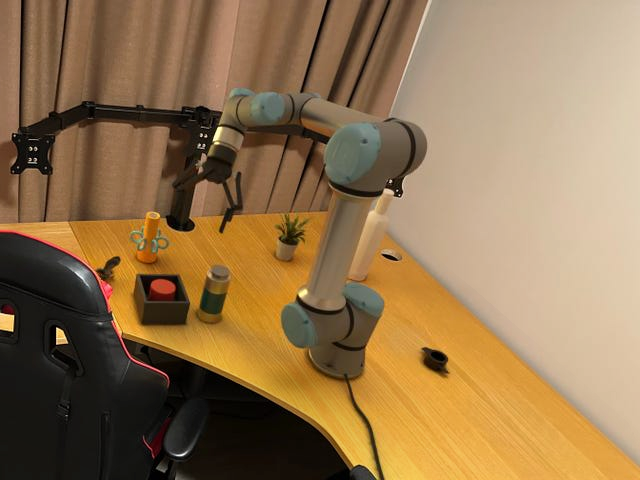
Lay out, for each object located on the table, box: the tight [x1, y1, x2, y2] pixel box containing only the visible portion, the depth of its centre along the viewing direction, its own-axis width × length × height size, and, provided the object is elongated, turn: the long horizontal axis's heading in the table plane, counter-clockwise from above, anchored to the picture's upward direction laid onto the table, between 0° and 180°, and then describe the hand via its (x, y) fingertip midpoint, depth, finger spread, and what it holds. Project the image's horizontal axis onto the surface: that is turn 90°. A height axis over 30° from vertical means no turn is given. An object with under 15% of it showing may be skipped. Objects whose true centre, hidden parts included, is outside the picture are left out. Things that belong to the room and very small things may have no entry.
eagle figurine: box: [94, 255, 122, 282], centre depth 184 cm, size 8×7×9 cm
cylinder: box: [129, 211, 170, 264], centre depth 193 cm, size 12×10×15 cm
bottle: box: [347, 188, 395, 282], centre depth 199 cm, size 8×8×30 cm
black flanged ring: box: [420, 346, 451, 375], centre depth 178 cm, size 8×10×3 cm
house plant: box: [272, 208, 315, 262], centre depth 205 cm, size 14×14×16 cm
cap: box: [148, 279, 175, 301], centre depth 176 cm, size 7×7×7 cm
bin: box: [133, 273, 191, 325], centre depth 176 cm, size 14×13×7 cm
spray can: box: [197, 264, 232, 324], centre depth 175 cm, size 7×7×16 cm
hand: (196, 224), depth 171 cm, fingers open, 13 cm apart
